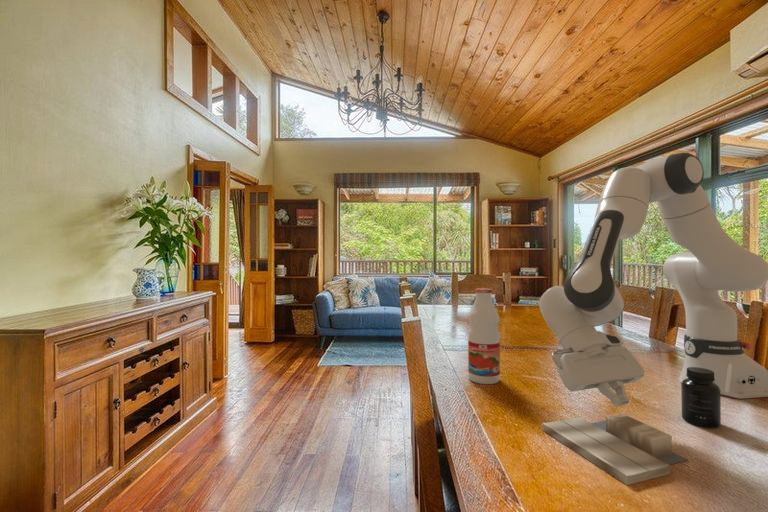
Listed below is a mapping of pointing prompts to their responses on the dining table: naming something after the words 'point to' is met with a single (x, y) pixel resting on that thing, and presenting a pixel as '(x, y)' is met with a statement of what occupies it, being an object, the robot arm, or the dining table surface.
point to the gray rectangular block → (639, 435)
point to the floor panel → (607, 450)
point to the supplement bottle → (701, 398)
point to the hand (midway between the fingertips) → (622, 404)
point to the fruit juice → (484, 340)
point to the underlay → (666, 459)
